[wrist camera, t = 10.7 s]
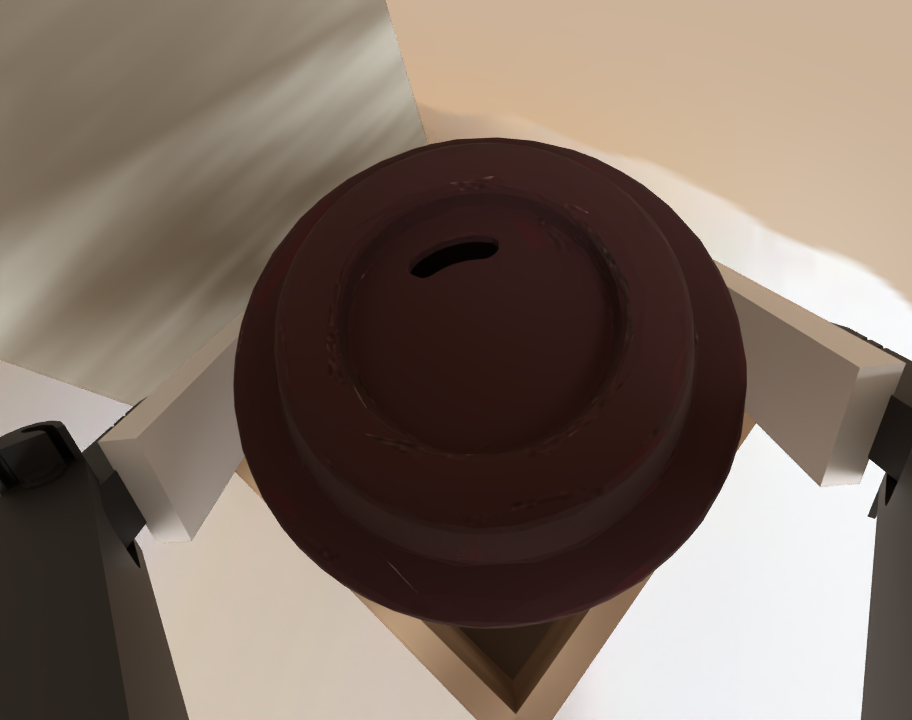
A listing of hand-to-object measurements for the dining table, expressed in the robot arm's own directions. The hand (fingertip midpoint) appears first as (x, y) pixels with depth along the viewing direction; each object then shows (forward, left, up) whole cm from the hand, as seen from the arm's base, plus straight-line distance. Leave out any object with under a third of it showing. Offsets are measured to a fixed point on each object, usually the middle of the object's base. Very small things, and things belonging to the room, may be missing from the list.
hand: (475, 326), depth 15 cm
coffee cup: (+2, -2, -8) cm, 9 cm away
